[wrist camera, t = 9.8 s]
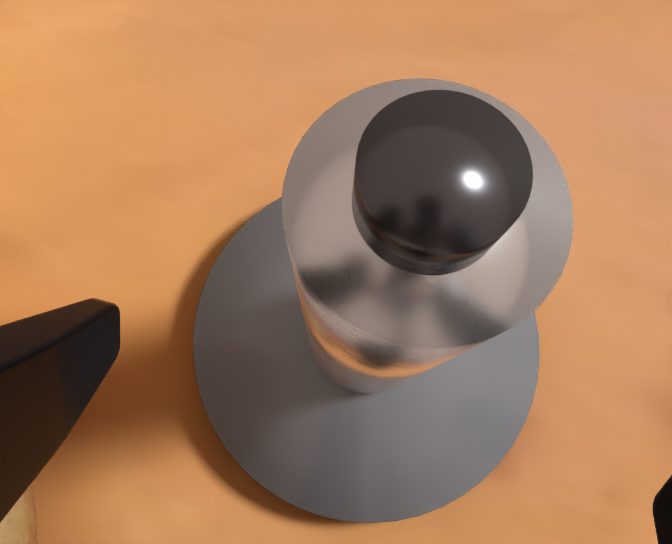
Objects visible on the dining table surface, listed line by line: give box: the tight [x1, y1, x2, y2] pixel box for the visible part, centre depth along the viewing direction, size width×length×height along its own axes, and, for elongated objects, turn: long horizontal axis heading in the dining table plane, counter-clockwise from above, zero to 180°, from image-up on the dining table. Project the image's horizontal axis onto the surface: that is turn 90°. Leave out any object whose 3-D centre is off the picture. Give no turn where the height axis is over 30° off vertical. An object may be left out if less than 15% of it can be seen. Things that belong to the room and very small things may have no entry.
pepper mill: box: [282, 78, 573, 394], centre depth 14 cm, size 5×5×14 cm
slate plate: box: [193, 197, 539, 523], centre depth 21 cm, size 14×14×1 cm
